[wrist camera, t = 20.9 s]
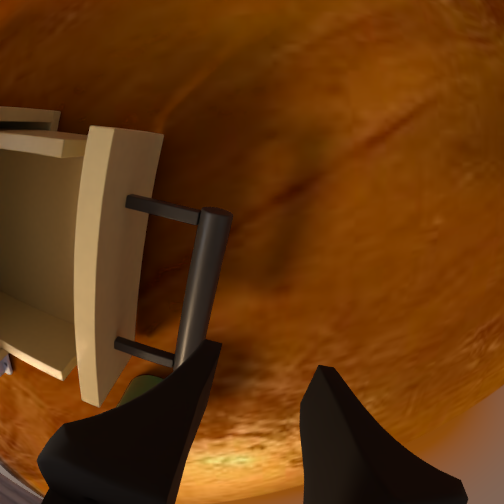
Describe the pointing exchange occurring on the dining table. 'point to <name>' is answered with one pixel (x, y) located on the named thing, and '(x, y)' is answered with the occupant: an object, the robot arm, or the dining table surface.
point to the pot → (139, 387)
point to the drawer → (91, 252)
